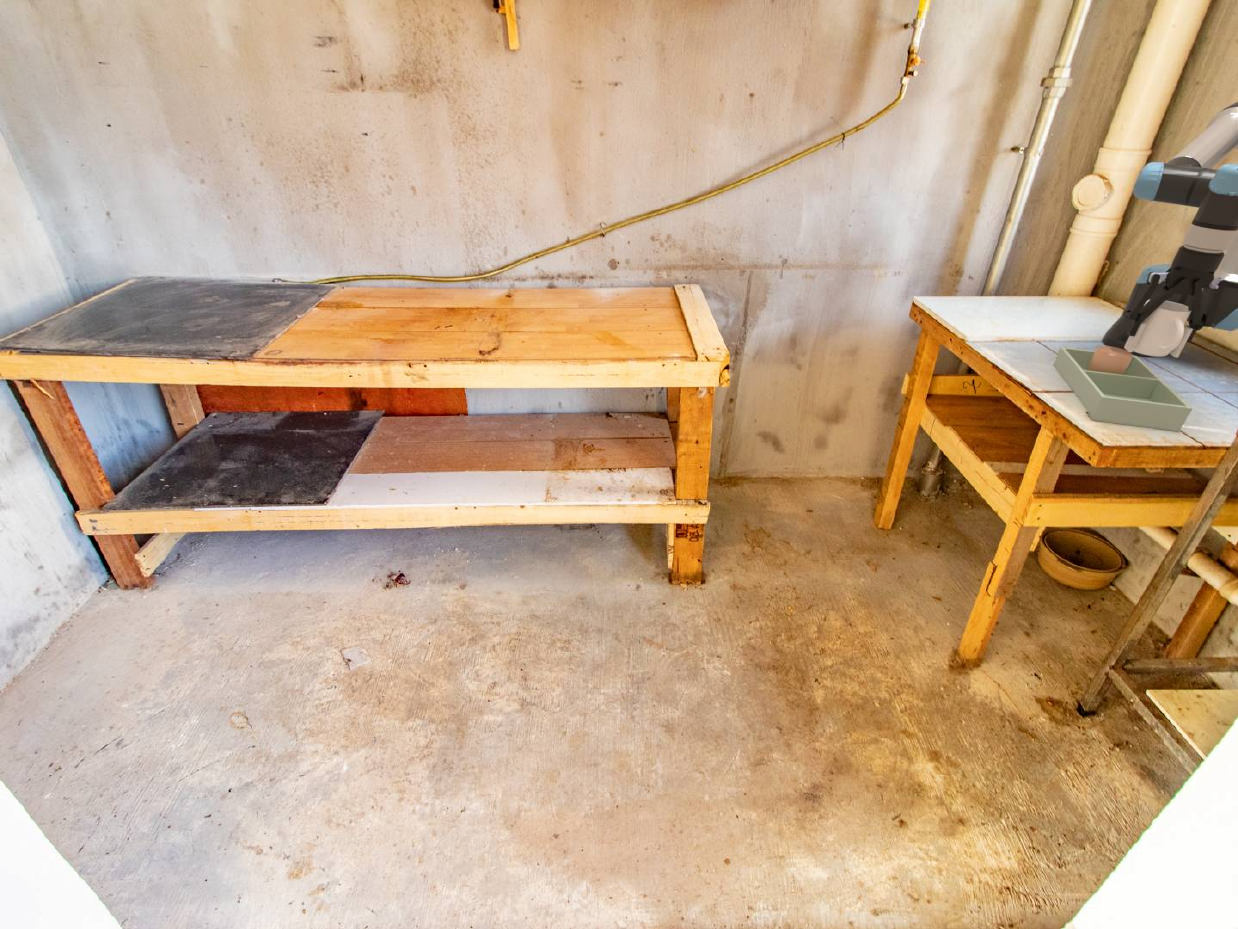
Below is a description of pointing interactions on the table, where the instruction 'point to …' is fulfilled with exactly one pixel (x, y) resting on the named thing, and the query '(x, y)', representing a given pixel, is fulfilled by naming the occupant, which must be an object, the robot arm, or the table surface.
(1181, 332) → the mug
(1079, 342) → the table surface
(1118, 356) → the peach rounded cylinder
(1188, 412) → the caddy
